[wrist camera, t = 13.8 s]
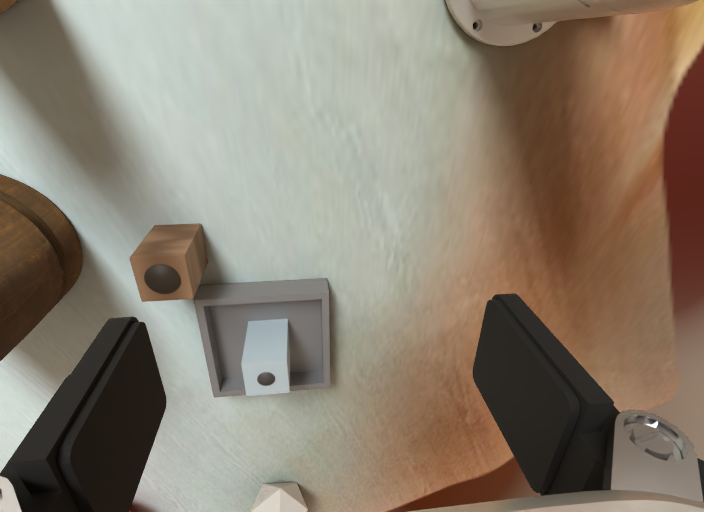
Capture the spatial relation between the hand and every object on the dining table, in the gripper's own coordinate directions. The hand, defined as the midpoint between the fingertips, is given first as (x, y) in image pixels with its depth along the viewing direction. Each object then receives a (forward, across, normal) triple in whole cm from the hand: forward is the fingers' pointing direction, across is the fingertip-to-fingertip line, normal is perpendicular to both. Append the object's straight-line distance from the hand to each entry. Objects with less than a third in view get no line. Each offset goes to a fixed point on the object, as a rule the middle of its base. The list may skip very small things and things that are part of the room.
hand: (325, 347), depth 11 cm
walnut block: (+30, +13, +11) cm, 35 cm away
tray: (+30, +5, +23) cm, 38 cm away
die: (+31, +6, +54) cm, 62 cm away
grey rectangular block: (+30, +5, +23) cm, 38 cm away
